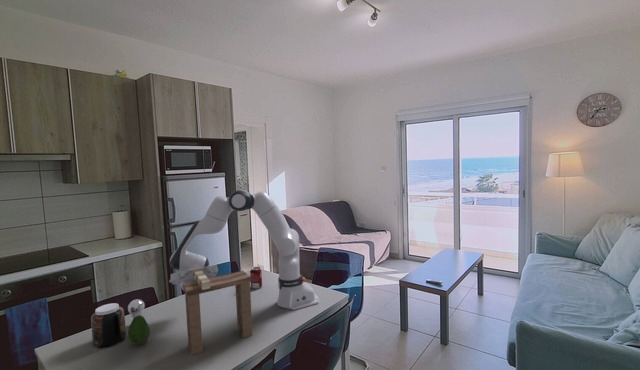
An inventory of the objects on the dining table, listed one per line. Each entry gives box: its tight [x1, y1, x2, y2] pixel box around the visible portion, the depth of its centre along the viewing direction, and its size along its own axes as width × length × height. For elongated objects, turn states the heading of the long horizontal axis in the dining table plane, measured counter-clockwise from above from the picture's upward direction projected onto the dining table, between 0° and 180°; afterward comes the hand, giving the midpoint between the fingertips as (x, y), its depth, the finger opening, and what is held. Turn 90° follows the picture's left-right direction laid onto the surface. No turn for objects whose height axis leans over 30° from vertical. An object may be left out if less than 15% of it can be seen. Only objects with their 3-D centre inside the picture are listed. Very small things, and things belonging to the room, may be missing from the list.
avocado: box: [127, 315, 151, 345], centre depth 134 cm, size 8×8×12 cm
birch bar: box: [192, 268, 210, 290], centre depth 133 cm, size 20×3×3 cm, turn 33°
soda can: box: [249, 266, 263, 290], centre depth 191 cm, size 7×7×12 cm
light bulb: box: [127, 298, 146, 320], centre depth 150 cm, size 7×7×12 cm
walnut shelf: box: [182, 270, 253, 356], centre depth 134 cm, size 10×26×26 cm, turn 123°
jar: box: [90, 302, 127, 349], centre depth 136 cm, size 12×12×15 cm
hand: (197, 270), depth 139 cm, fingers open, 8 cm apart
